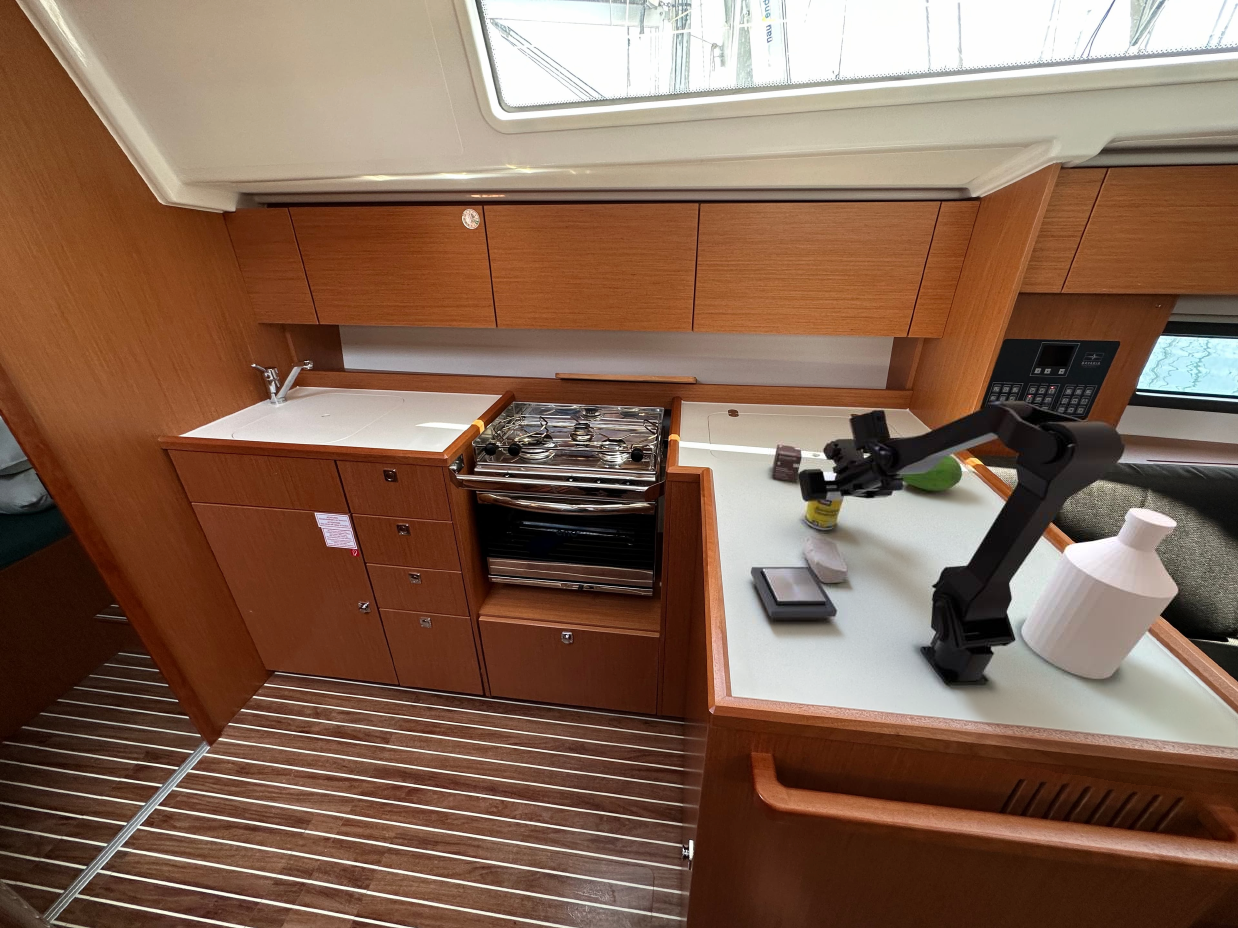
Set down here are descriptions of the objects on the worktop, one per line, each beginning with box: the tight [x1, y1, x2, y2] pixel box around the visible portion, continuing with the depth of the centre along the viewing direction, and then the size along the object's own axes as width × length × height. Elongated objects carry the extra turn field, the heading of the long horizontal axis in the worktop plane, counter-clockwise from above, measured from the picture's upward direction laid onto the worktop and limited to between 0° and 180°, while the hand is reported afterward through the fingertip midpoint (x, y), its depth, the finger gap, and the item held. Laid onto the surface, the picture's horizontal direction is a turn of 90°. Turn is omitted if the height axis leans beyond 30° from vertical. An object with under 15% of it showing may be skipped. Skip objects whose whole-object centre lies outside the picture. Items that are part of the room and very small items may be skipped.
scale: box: [750, 566, 838, 621], centre depth 81 cm, size 11×11×3 cm
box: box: [771, 444, 803, 483], centre depth 122 cm, size 6×6×7 cm
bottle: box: [1021, 507, 1179, 680], centre depth 69 cm, size 12×12×25 cm
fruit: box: [901, 455, 963, 492], centre depth 118 cm, size 15×10×10 cm, turn 85°
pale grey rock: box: [802, 534, 848, 584], centre depth 90 cm, size 10×6×6 cm, turn 168°
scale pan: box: [762, 569, 826, 606], centre depth 81 cm, size 8×8×1 cm
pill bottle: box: [804, 471, 845, 531], centre depth 102 cm, size 6×6×12 cm
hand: (823, 493), depth 102 cm, fingers open, 9 cm apart
